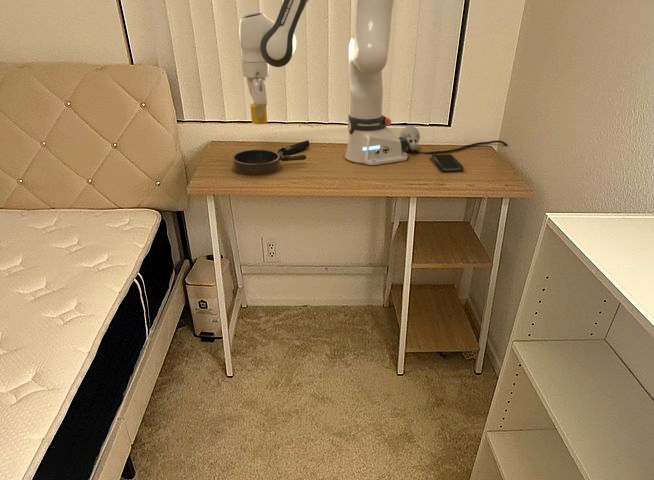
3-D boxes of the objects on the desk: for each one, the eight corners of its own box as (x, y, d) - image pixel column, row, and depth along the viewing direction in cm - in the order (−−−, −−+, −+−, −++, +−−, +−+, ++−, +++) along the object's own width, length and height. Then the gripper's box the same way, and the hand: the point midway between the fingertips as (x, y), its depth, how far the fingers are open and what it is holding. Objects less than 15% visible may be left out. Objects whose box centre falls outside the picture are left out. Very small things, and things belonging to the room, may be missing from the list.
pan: (276, 159, 196) (275, 148, 194) (283, 174, 184) (283, 162, 182) (231, 162, 193) (230, 151, 190) (236, 178, 181) (234, 165, 178)
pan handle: (305, 158, 192) (305, 153, 191) (306, 160, 190) (306, 155, 189) (279, 160, 190) (279, 155, 189) (280, 162, 188) (280, 156, 187)
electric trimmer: (312, 149, 207) (312, 140, 205) (283, 159, 197) (283, 149, 195) (304, 147, 208) (304, 138, 207) (275, 157, 198) (275, 147, 197)
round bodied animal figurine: (402, 157, 200) (404, 133, 195) (397, 147, 210) (399, 123, 205) (422, 157, 201) (424, 132, 196) (416, 147, 210) (418, 123, 205)
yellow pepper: (266, 119, 198) (264, 100, 194) (268, 123, 194) (267, 104, 190) (250, 120, 196) (249, 100, 193) (252, 124, 192) (251, 104, 188)
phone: (442, 168, 188) (430, 154, 199) (442, 172, 188) (430, 157, 200) (464, 168, 189) (451, 154, 200) (464, 171, 189) (451, 157, 201)
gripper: (269, 76, 178) (272, 121, 186) (261, 64, 193) (264, 106, 202) (250, 76, 176) (253, 122, 185) (243, 64, 192) (246, 107, 200)
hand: (259, 114), depth 193 cm, fingers closed on yellow pepper, 5 cm apart
